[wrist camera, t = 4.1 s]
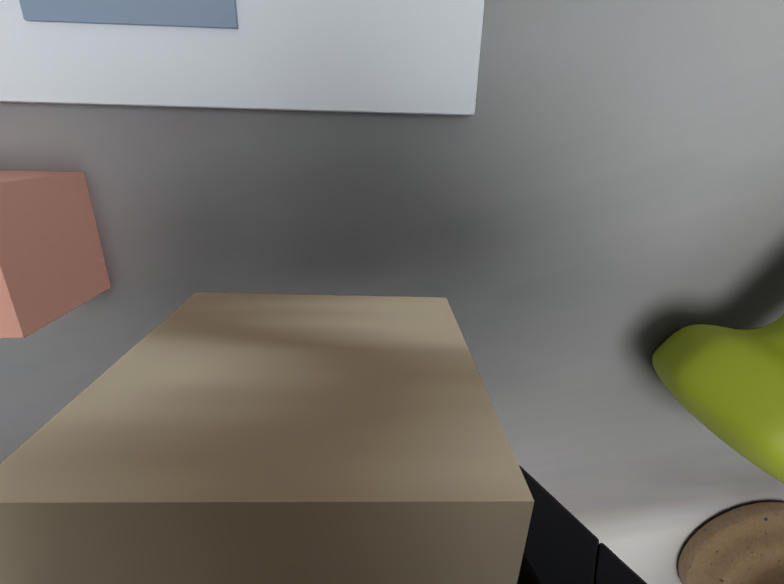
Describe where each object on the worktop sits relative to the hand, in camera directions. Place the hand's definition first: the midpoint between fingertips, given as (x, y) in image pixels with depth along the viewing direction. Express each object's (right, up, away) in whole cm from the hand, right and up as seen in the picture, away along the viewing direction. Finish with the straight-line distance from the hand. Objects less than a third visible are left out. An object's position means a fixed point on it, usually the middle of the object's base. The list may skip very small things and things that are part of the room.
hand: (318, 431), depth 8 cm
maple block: (0, 0, +1) cm, 1 cm away
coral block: (-14, +5, +9) cm, 17 cm away
